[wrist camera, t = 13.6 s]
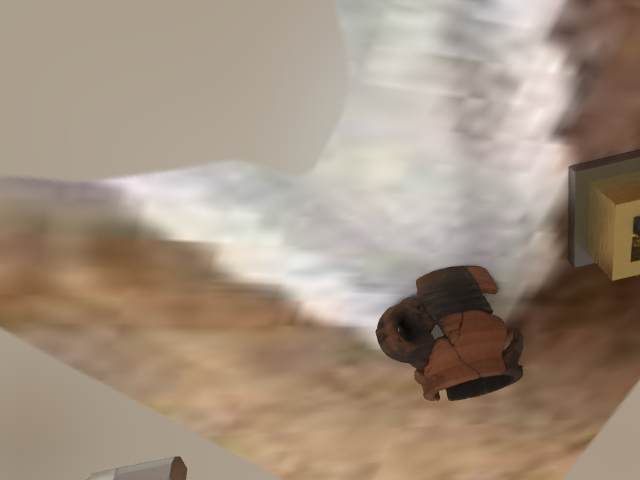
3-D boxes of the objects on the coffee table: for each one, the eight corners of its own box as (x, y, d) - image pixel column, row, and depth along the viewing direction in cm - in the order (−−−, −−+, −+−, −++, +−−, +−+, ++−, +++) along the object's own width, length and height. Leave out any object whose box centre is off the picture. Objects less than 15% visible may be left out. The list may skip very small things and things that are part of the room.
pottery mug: (523, 261, 45) (563, 364, 41) (454, 312, 52) (482, 404, 48) (389, 255, 40) (420, 372, 36) (333, 312, 47) (354, 414, 43)
